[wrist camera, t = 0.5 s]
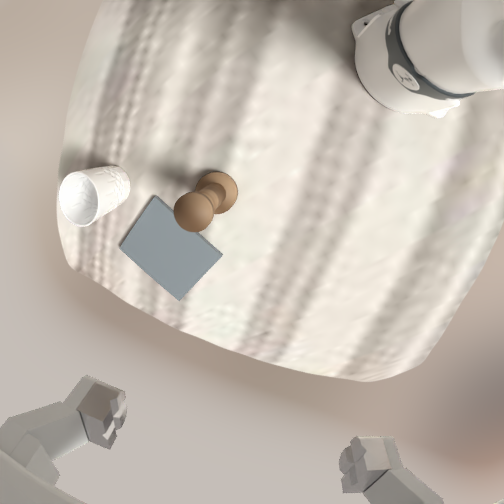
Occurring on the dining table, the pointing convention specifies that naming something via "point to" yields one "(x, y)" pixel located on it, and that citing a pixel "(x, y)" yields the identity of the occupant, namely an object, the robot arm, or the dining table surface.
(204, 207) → the brown post
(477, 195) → the dining table surface
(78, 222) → the white cup
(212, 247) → the gray book
